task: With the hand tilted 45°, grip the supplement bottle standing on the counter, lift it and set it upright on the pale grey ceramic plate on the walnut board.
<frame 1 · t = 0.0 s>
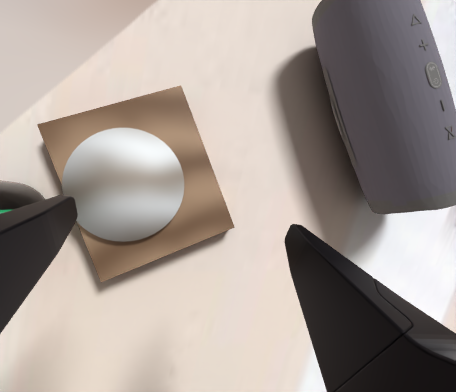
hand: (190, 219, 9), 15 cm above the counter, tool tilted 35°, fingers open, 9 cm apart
walnut board: (147, 181, 23), on the counter
supplement bottle: (16, 216, 21), on the counter
bluetooth speaker: (346, 121, 27), on the counter
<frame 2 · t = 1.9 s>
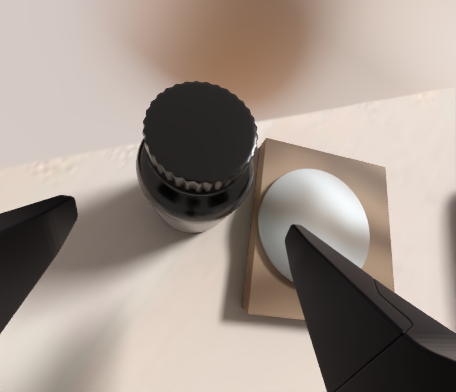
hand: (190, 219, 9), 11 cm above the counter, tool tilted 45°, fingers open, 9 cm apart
walnut board: (315, 230, 22), on the counter
supplement bottle: (193, 198, 20), on the counter
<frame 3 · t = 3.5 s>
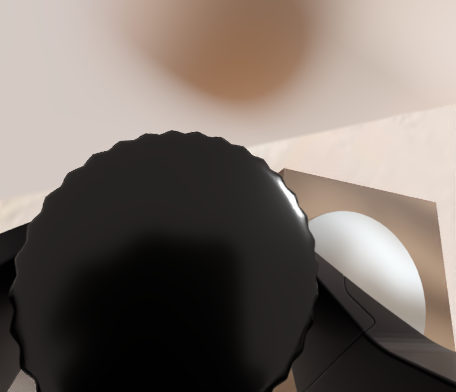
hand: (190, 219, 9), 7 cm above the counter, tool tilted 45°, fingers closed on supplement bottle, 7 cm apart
walnut board: (347, 288, 16), on the counter
supplement bottle: (185, 251, 15), on the counter, touching gripper
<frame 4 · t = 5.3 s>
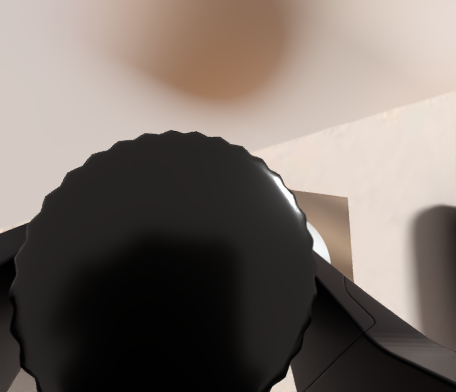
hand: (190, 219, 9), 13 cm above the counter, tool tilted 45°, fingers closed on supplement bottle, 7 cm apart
walnut board: (282, 264, 23), on the counter
supplement bottle: (185, 250, 15), point 6 cm above the counter, touching gripper
when the fingers open (10 cm above the counter, at t = 7.1 s): supplement bottle drops 1 cm, resting on walnut board.
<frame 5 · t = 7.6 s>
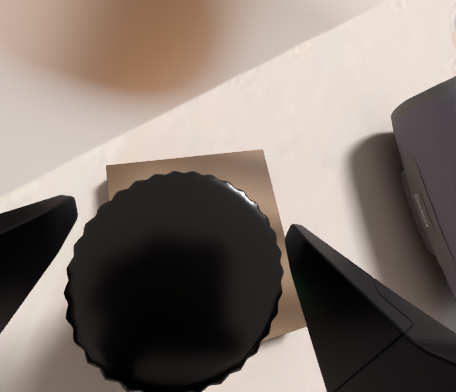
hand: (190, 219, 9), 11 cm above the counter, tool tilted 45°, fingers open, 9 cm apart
walnut board: (204, 246, 19), on the counter
supplement bottle: (185, 253, 16), point 2 cm above the counter, touching walnut board
bluetooth speaker: (419, 210, 25), on the counter
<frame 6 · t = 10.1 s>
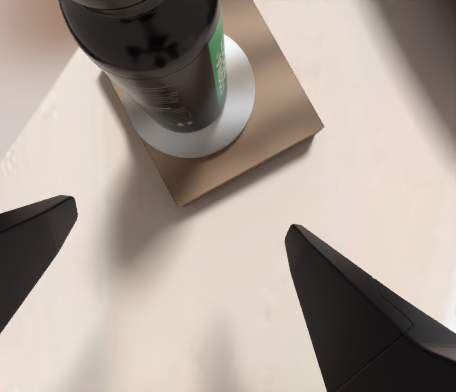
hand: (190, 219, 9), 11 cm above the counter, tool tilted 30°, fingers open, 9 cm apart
walnut board: (208, 97, 20), on the counter
supplement bottle: (187, 95, 17), point 2 cm above the counter, touching walnut board
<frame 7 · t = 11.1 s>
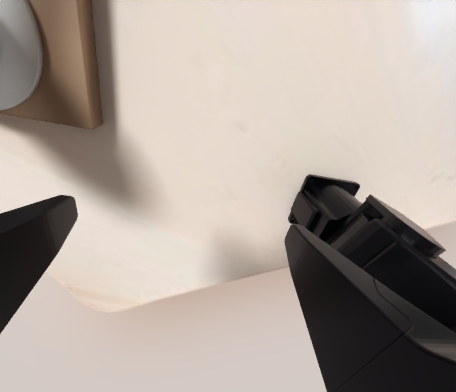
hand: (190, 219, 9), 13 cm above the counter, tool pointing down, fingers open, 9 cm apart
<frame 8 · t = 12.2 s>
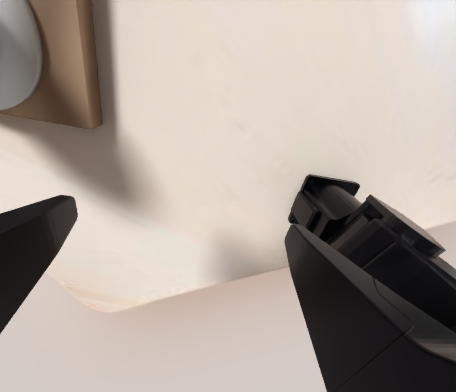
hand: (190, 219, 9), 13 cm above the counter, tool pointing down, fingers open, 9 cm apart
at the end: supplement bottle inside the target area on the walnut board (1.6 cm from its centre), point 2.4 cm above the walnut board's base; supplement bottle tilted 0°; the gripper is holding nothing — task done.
